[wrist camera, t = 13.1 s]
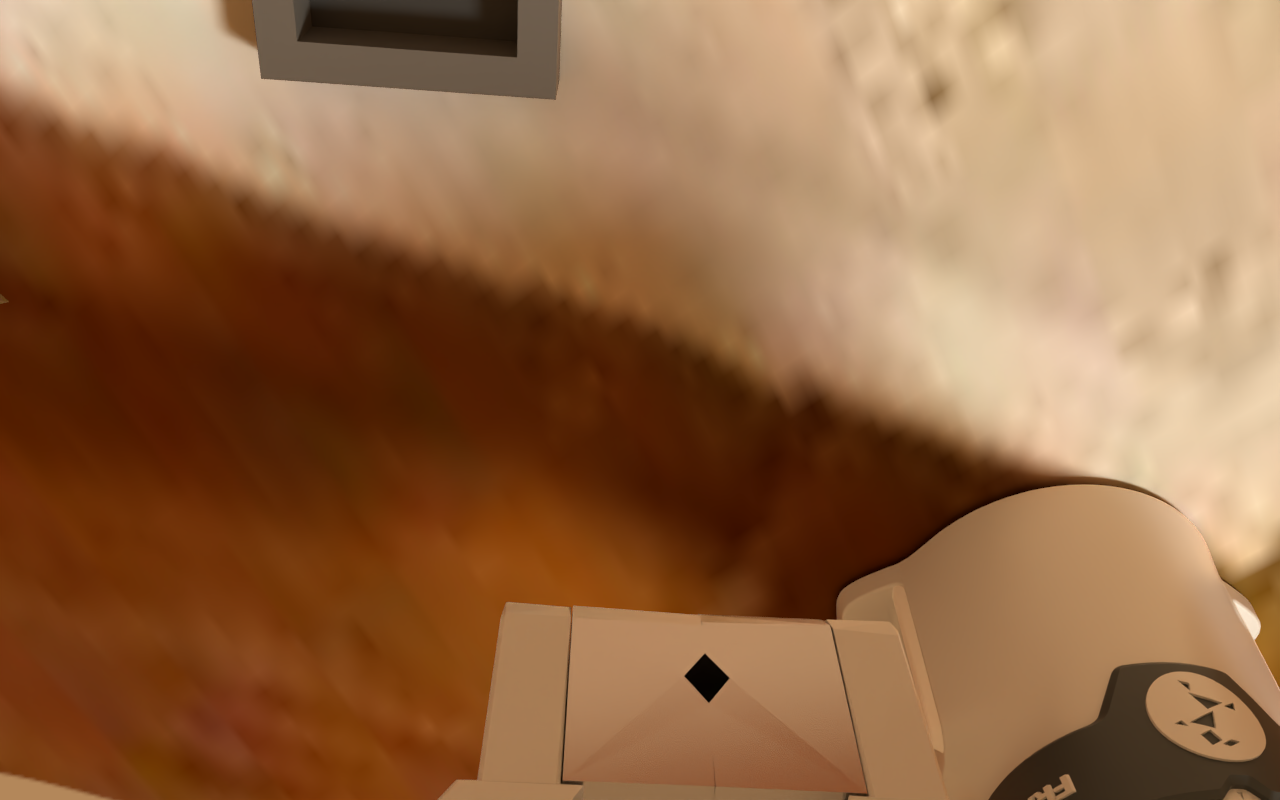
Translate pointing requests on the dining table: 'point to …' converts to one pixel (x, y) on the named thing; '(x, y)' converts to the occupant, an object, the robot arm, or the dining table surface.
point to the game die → (3, 299)
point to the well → (414, 44)
